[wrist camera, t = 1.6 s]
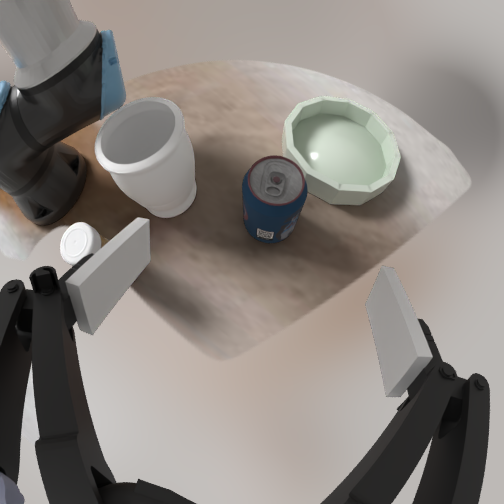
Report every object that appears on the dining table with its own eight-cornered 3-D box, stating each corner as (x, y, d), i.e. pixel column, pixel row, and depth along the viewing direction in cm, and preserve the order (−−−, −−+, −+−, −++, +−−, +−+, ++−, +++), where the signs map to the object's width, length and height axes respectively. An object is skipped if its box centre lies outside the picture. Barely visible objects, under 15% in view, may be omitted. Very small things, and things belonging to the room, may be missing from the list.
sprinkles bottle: (137, 288, 37) (87, 267, 24) (109, 283, 37) (54, 261, 24) (142, 256, 38) (97, 222, 25) (115, 252, 38) (64, 219, 25)
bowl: (261, 168, 42) (263, 151, 37) (309, 100, 46) (313, 82, 41) (368, 226, 39) (381, 214, 35) (397, 146, 43) (408, 131, 39)
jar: (212, 212, 40) (193, 150, 25) (143, 235, 39) (95, 187, 24) (194, 154, 42) (175, 85, 28) (133, 175, 41) (94, 116, 27)
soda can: (251, 194, 40) (251, 144, 29) (298, 206, 40) (315, 160, 28) (237, 238, 39) (233, 200, 27) (287, 251, 38) (303, 218, 27)
